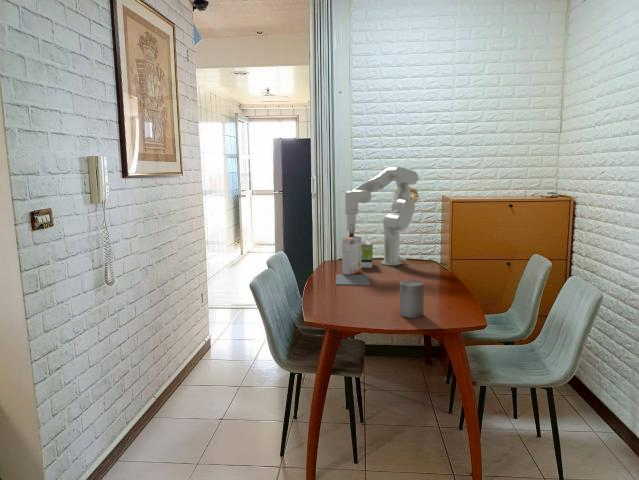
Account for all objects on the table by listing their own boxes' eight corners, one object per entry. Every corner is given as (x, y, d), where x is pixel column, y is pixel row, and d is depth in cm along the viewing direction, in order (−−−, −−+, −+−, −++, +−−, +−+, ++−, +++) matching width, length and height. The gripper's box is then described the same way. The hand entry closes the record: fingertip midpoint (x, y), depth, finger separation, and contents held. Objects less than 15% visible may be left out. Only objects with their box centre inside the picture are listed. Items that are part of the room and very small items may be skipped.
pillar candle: (420, 311, 199) (420, 276, 196) (426, 318, 189) (426, 281, 187) (397, 311, 198) (397, 277, 196) (402, 318, 189) (402, 282, 187)
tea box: (372, 267, 288) (373, 244, 285) (356, 268, 288) (356, 244, 286) (370, 263, 303) (370, 240, 300) (355, 263, 303) (355, 240, 301)
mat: (367, 275, 266) (367, 274, 266) (370, 285, 244) (370, 284, 244) (336, 275, 267) (336, 274, 267) (335, 285, 245) (335, 284, 245)
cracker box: (352, 271, 278) (352, 236, 276) (361, 272, 275) (361, 236, 273) (341, 274, 266) (341, 238, 264) (350, 275, 263) (351, 238, 261)
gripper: (345, 210, 285) (345, 240, 288) (345, 213, 270) (345, 244, 273) (357, 210, 285) (357, 240, 287) (358, 213, 270) (358, 244, 273)
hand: (351, 242), depth 280 cm, fingers closed
